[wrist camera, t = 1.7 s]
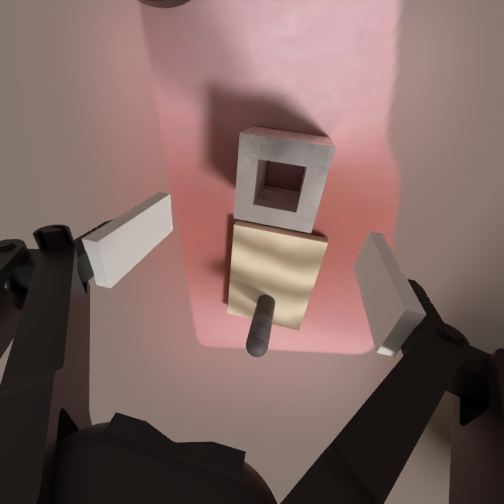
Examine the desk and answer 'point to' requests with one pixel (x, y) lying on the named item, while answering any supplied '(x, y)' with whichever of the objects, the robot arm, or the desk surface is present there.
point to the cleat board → (272, 278)
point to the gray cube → (277, 199)
